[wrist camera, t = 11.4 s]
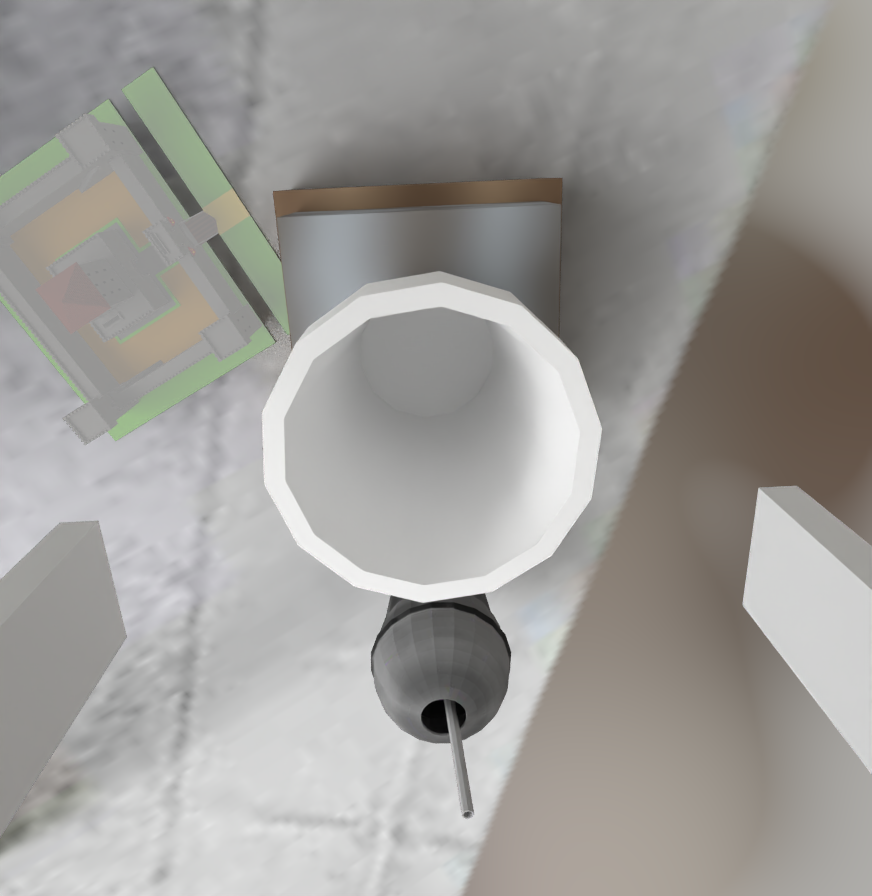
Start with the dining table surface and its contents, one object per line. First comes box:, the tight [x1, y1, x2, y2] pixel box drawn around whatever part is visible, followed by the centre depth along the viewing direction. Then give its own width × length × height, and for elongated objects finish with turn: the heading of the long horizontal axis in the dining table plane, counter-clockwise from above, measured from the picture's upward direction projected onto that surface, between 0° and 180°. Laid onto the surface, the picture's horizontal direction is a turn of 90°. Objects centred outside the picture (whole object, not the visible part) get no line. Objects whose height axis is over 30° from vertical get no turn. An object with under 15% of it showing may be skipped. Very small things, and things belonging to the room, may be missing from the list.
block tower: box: [273, 178, 562, 350], centre depth 36 cm, size 14×14×10 cm
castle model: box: [0, 67, 290, 445], centre depth 36 cm, size 15×15×7 cm
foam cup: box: [262, 271, 602, 603], centre depth 25 cm, size 10×9×13 cm
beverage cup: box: [371, 593, 511, 819], centre depth 37 cm, size 7×7×20 cm
